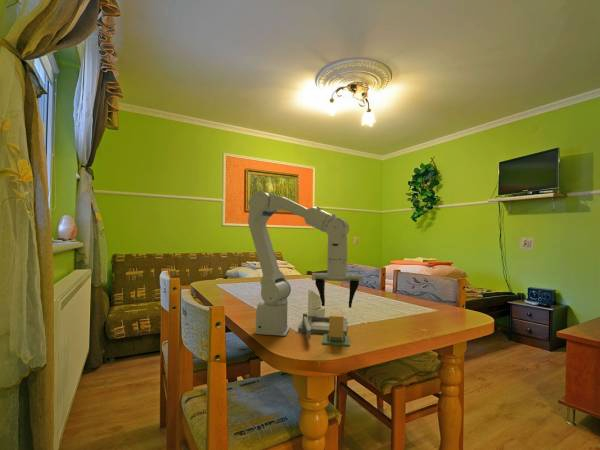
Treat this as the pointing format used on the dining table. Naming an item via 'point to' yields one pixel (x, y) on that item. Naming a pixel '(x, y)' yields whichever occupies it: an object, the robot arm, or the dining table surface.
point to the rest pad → (326, 341)
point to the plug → (336, 327)
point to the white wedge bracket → (315, 305)
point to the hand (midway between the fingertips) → (336, 306)
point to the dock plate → (320, 328)
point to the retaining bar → (306, 326)
